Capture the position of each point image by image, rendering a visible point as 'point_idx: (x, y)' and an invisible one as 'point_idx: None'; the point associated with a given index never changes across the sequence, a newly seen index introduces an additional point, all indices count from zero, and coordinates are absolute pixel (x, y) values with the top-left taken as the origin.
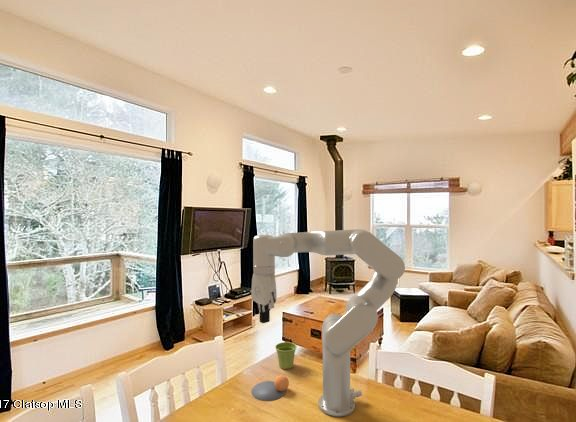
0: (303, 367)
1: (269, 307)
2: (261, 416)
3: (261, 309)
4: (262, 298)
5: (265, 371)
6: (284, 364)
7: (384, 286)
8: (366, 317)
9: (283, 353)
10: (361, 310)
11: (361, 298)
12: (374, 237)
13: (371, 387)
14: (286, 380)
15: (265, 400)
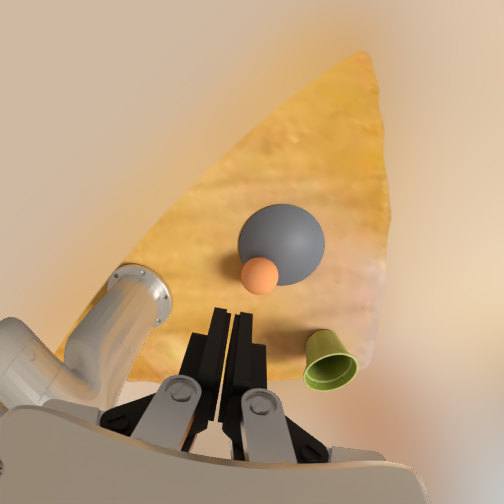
0: (286, 358)
1: (75, 414)
2: (218, 164)
3: (239, 405)
4: (30, 490)
5: (347, 298)
6: (317, 337)
7: None
8: None
9: (321, 353)
10: None
11: None
12: None
13: (145, 368)
14: (244, 283)
15: (257, 212)
